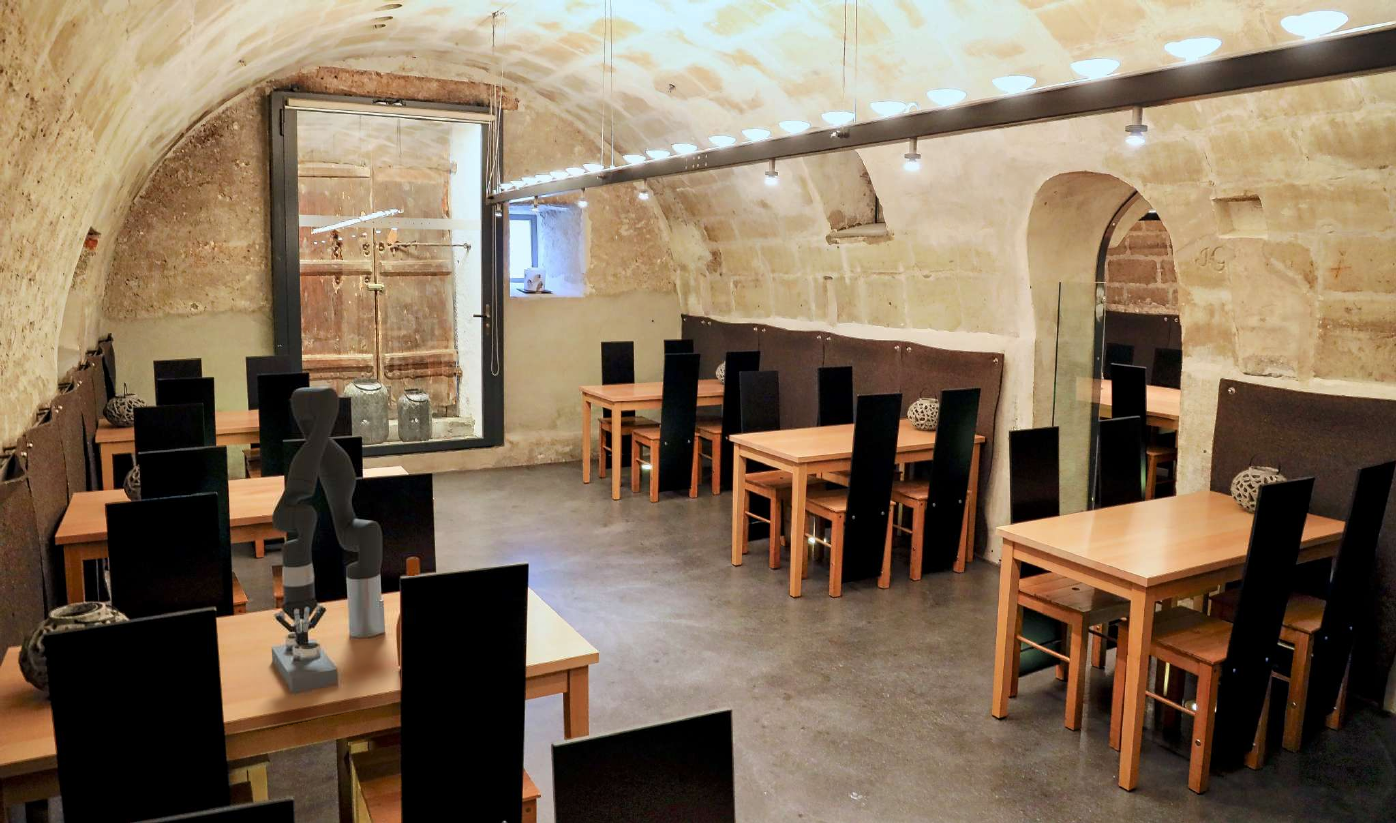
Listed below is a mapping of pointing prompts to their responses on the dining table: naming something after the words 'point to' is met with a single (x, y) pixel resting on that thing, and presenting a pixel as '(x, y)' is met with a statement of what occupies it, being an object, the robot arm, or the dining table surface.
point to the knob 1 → (290, 641)
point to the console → (304, 670)
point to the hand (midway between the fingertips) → (302, 645)
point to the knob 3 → (310, 652)
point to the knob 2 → (296, 652)
